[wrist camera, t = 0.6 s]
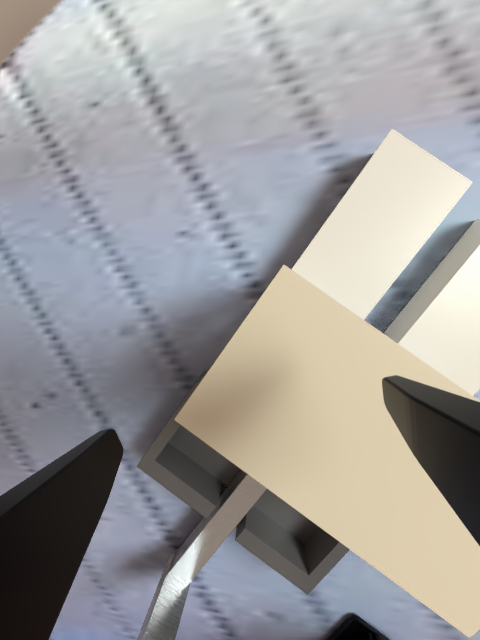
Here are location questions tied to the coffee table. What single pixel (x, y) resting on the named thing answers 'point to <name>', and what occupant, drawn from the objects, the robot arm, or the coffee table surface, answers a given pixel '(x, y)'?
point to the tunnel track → (344, 396)
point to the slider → (197, 557)
